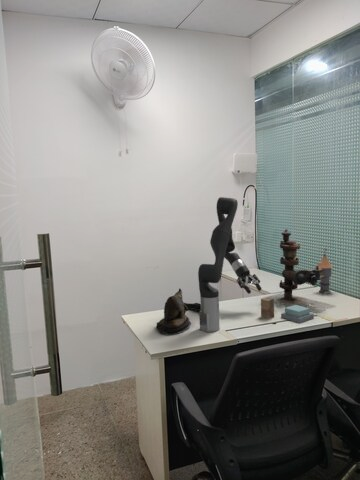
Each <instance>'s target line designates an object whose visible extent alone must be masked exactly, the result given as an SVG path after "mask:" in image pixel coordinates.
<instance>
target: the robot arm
mask: <svg viewBox="0 0 360 480" xmlns="http://www.w3.org/2000/svg"><path fill="white" fill-rule="evenodd" d="M238 205H239V204H238V199H236V198H231V197H226V196H225V197H224V196H220V197H219V198H218V199H217V202H216V214H217V220H218V224H217V226H215V227H214V229H213V230H212V233H211V236H210V240H209V242H210V246H211V247H210V248H211V249H212V251H213V254H214V259H215V260H214V264H211V263H202V264H200V265H199V267H198V271H197V273H198V274H197V275H198V276H197V278H198V289H199V294H200V297H199V298H200V304H201V311H199V312H198V314H199V315H198V316H199V330H201V331H204V332H206V333H213V332H218V331H220V327H221V326H220V300H219V299H220V297H219V296H220V295H219V294H220V293H219V290H218V289H217V288H216V287H213V286H212V285H211V284H218V283H219V282H220V281H221V278H222V273H223V267H224V263H225V262H224V260H225V259H226V260H227V262H228V263H229V265H230V266H231V268H232V270H233V272H234V273H235V275H236V276H237V279H236V283H237V284H238V286H239V288H241V289H244V290H245V292H246V293H247V294H248V295H249V294H251V293H252V290H251V289H250V287H249V286H248V285H249V284H251V285H253V286H255V287H256V289H257V291H259V292H260V291H262V288H263V287H261V285H260V283H261V280H260V279H259V278H258V276H257V274H255V273H254V274H251V271H250V270H249V268H248V266H247V265H246V264H245V262H244V261H243V260H242V258H241V257H240V255H239V254H238V253H237V252H233V251H235V250H236V245H235V242H234V240H233V239H234V238H233V228H232V227H233V223H234V219H235V216H236V213H237V210H238ZM225 215H227V216H225Z"/></svg>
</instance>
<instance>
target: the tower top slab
mask: <svg viewBox="0 0 360 480" xmlns="http://www.w3.org/2000/svg"><path fill="white" fill-rule="evenodd" d="M284 312H285V313H286V314H289V315H293V316H296V317H301V316H304V315H307V314H310V313H311V311H310V308H306V307H303V305H293V306H287V307H284Z"/></svg>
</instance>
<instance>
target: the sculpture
mask: <svg viewBox="0 0 360 480" xmlns="http://www.w3.org/2000/svg"><path fill="white" fill-rule="evenodd" d="M183 302H184V301H183V291H182V289H181V288H179V289H178V291H177V292H175V294H173V295H172V296H169V297H168V298H167V299H166V301H165V302H164V308H163V317H162V319H160V320H159V321H157V322H156V325H155V328H156V329H157V331H159V332H160V333H163V334H165V335H166V336H171V335H172V336H173V335H176V334H183V333H184V332H186V331H187V330H188V329H189V328H190V327H191V326H192V321H191V319H190V318H189V317H188V316H187V314H186V313H187V311H188V309H187V306H186V305H185V304H184V303H185V302H184V303H183Z"/></svg>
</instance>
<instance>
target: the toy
mask: <svg viewBox="0 0 360 480" xmlns="http://www.w3.org/2000/svg"><path fill="white" fill-rule="evenodd" d="M183 303H184V304H185V305H186V306H187V310H188V309H189V310H195V311H196V310H197V312H198V313H199V311H201V303H198V302H194V303H188V302H184V301H183Z"/></svg>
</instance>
